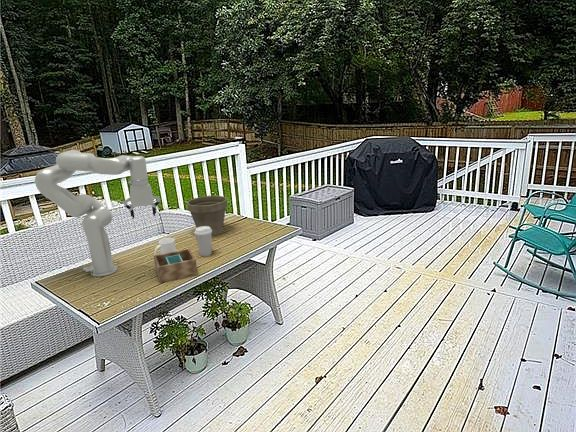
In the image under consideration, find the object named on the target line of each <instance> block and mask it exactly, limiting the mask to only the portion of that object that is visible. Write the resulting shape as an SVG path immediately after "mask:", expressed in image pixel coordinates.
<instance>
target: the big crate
mask: <svg viewBox="0 0 576 432" xmlns="http://www.w3.org/2000/svg"><path fill="white" fill-rule="evenodd" d="M178 254H179V255H180V256H181V258H182V260H183V261H182V262H177V263H173V264H168V265H166V258H165V257H168V256H173V255H178ZM153 261H154V266H155V272H156V274H157V277H158V282H159V283H160V284H161V283H164V282H169V281H174V280H178V279H182V278H183V279H184V278H187V277H191V276H195V275H198V266H197V259H196V258H195V256H194V254H193V252H192V251H191V249H190V248H187V249H186V248H185V249H181V250H176V251H175V252H170V253H165V254H161V253H160V254H158V255H155V254H154V255H153Z"/></svg>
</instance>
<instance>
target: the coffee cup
mask: <svg viewBox="0 0 576 432" xmlns="http://www.w3.org/2000/svg"><path fill="white" fill-rule="evenodd" d="M211 232H212V229H211V228H210V227H209V226H201V227H198V228H196V227H195V230H194V235H195V238H196V241H197V246H198V253H199V255H200V256H202V257H207V256H211V255H212V253H213V252H212V251H213V249H212V246H213V245H212V241H213V240H212V236H211Z"/></svg>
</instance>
